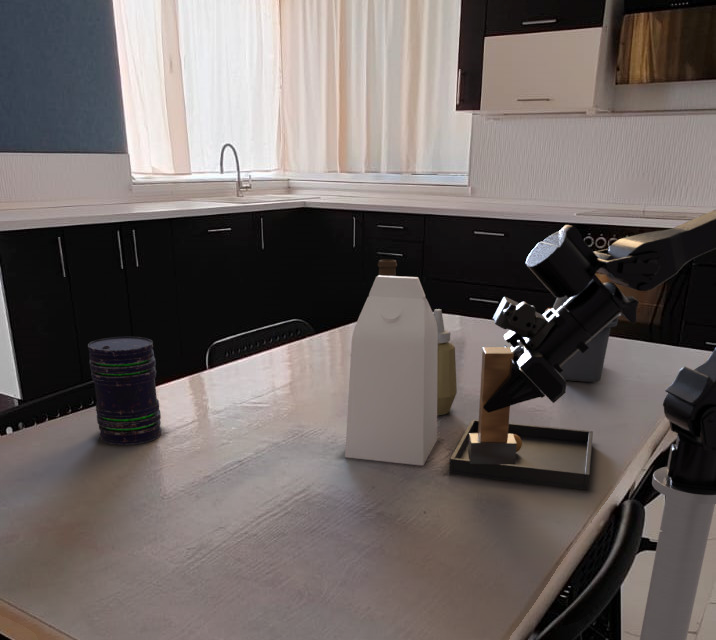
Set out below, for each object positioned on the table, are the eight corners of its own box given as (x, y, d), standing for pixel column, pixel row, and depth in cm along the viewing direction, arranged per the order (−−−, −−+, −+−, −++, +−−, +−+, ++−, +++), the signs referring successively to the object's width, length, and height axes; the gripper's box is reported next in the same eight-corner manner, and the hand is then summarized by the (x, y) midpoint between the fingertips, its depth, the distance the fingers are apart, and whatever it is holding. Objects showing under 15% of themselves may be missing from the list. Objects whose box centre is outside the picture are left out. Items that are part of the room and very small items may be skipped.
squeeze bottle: (419, 419, 133) (423, 315, 126) (404, 406, 140) (407, 306, 133) (462, 416, 135) (469, 313, 128) (445, 403, 142) (451, 304, 135)
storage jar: (132, 421, 131) (122, 334, 125) (175, 431, 126) (166, 341, 120) (86, 438, 123) (72, 345, 117) (130, 449, 119) (118, 353, 113)
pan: (591, 444, 122) (592, 431, 121) (587, 490, 105) (589, 474, 104) (470, 432, 127) (471, 419, 126) (449, 473, 110) (449, 458, 109)
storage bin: (612, 388, 153) (622, 315, 147) (533, 381, 157) (540, 310, 151) (612, 363, 171) (621, 298, 166) (541, 358, 175) (548, 294, 170)
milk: (436, 440, 123) (445, 273, 113) (423, 465, 113) (431, 284, 103) (364, 433, 126) (367, 270, 116) (344, 457, 116) (345, 280, 106)
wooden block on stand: (511, 454, 107) (519, 346, 101) (515, 464, 103) (523, 353, 97) (468, 453, 107) (473, 346, 101) (470, 464, 103) (475, 353, 97)
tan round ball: (521, 450, 118) (523, 432, 117) (519, 457, 115) (521, 438, 114) (502, 448, 119) (503, 430, 118) (499, 455, 116) (501, 436, 115)
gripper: (524, 266, 104) (439, 347, 109) (547, 287, 87) (445, 382, 92) (578, 324, 106) (492, 401, 111) (609, 356, 89) (507, 445, 94)
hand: (484, 405), depth 102 cm, fingers closed on wooden block on stand, 3 cm apart
